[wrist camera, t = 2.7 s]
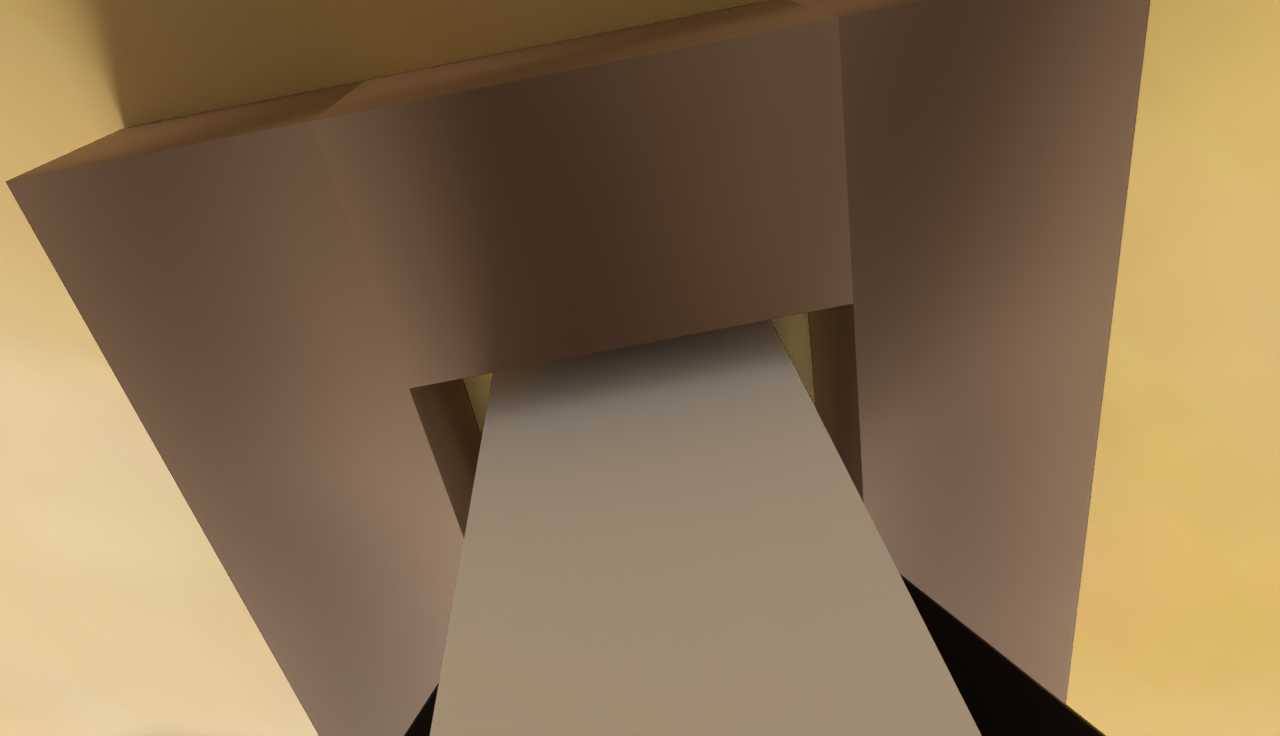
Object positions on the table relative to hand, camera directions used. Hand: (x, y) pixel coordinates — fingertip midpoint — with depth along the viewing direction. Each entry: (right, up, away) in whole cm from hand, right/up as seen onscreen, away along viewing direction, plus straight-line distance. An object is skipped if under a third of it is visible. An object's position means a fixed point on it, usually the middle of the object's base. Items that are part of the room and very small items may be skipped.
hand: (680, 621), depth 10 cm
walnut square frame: (0, +2, +4) cm, 4 cm away
